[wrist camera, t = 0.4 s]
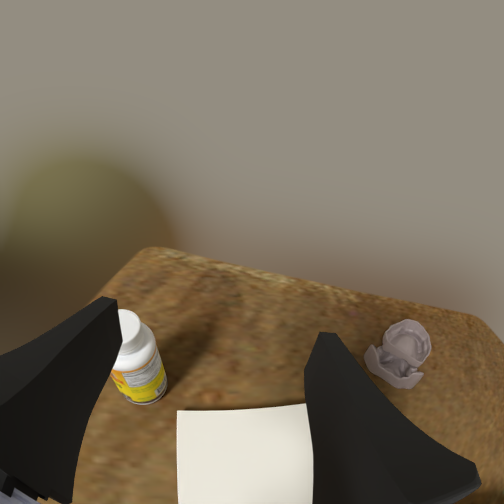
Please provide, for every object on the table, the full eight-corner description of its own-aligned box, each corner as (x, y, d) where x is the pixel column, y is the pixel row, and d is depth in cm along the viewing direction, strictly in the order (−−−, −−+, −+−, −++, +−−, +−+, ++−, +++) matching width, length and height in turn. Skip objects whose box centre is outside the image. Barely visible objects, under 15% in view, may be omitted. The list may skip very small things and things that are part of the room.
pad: (342, 524, 16) (347, 523, 15) (183, 542, 14) (181, 543, 13) (314, 406, 27) (317, 401, 26) (178, 414, 25) (177, 410, 24)
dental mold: (427, 367, 31) (446, 343, 28) (403, 400, 27) (424, 377, 24) (385, 333, 36) (399, 308, 33) (357, 360, 32) (371, 335, 29)
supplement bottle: (116, 370, 28) (86, 309, 22) (160, 359, 31) (143, 296, 25) (125, 412, 24) (90, 358, 18) (175, 399, 27) (156, 343, 21)
